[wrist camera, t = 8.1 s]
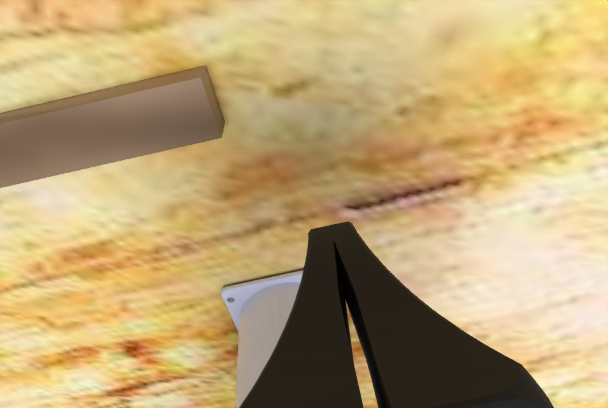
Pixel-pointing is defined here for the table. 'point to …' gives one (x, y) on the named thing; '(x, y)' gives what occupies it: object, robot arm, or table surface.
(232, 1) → the table surface
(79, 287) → the table surface
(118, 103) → the brown piece
